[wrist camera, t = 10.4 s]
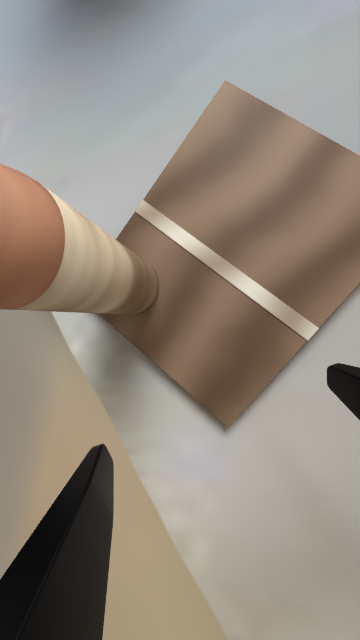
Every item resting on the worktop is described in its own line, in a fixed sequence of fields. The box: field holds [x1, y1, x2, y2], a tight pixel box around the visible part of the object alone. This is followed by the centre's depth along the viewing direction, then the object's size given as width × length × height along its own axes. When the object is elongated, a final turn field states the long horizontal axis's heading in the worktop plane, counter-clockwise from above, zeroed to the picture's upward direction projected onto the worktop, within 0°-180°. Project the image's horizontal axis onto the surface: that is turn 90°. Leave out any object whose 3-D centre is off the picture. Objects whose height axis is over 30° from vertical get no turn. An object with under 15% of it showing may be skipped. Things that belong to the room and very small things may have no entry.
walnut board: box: [99, 80, 360, 427], centre depth 17 cm, size 18×22×1 cm
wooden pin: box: [0, 164, 159, 315], centre depth 12 cm, size 5×5×14 cm
